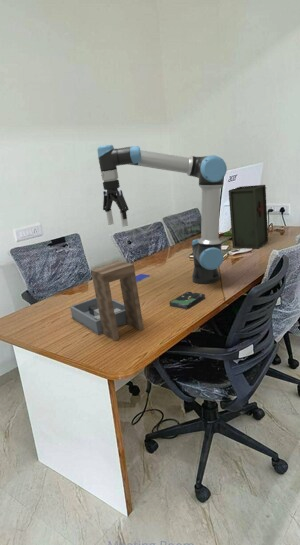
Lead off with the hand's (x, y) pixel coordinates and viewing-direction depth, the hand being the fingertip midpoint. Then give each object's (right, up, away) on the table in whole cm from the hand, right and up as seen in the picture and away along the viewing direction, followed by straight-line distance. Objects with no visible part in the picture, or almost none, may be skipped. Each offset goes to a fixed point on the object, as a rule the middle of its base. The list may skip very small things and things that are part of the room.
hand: (117, 225), depth 179 cm
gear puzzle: (+74, +5, +119) cm, 140 cm away
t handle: (-7, -43, -9) cm, 45 cm away
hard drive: (+8, -27, +43) cm, 52 cm away
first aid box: (+86, -4, +83) cm, 120 cm away
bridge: (+4, -47, -23) cm, 53 cm away
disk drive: (+33, -37, -2) cm, 50 cm away
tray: (-7, -44, -8) cm, 45 cm away
